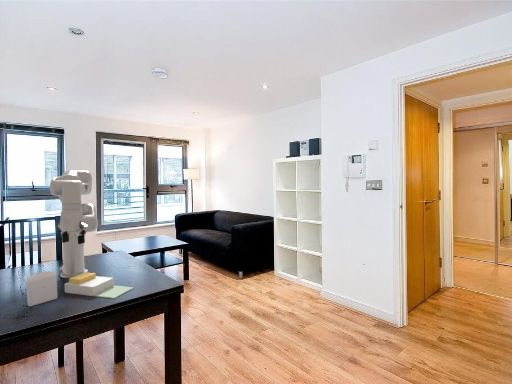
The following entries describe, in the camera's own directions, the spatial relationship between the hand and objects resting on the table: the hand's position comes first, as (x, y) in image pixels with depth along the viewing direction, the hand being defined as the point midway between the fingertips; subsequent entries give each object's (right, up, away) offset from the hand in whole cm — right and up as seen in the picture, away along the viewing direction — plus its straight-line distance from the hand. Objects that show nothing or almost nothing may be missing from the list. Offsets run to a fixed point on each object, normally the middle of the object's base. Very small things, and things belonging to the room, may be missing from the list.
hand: (73, 242), depth 136 cm
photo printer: (-2, -22, -16) cm, 27 cm away
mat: (+23, -21, -7) cm, 32 cm away
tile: (+6, -17, -2) cm, 18 cm away
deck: (+10, -21, -3) cm, 23 cm away
